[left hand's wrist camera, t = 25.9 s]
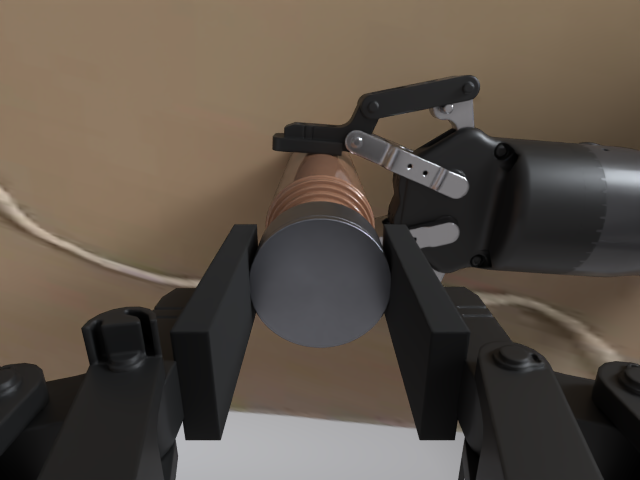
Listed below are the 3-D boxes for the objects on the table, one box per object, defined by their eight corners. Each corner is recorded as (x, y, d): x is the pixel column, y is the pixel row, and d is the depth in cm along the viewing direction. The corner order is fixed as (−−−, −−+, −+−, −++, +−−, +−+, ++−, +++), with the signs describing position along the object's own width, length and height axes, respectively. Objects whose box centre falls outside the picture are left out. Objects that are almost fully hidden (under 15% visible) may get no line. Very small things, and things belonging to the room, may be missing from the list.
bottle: (276, 183, 30) (225, 301, 14) (306, 124, 29) (287, 179, 12) (333, 212, 31) (347, 355, 15) (364, 156, 29) (419, 246, 13)
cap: (324, 337, 16) (325, 371, 14) (231, 266, 15) (219, 292, 13) (409, 257, 14) (422, 282, 13) (315, 173, 13) (314, 187, 12)
